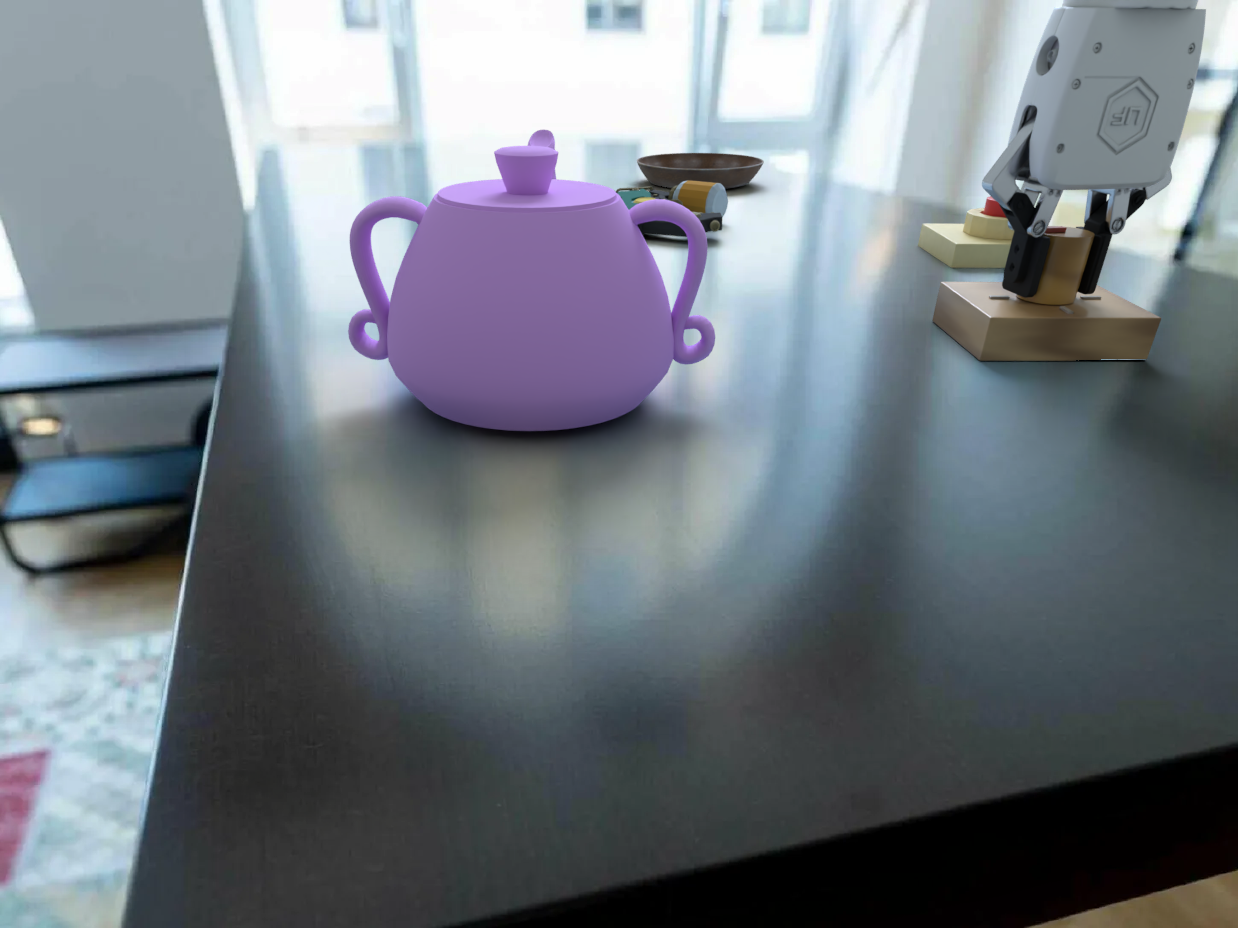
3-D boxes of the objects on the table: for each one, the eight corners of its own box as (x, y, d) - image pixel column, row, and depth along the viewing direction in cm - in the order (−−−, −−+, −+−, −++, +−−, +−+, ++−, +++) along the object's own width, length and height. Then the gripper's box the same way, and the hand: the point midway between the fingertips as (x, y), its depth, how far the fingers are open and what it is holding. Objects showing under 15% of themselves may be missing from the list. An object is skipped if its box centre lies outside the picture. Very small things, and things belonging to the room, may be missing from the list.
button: (1012, 214, 91) (1017, 195, 90) (1027, 221, 88) (1032, 202, 87) (976, 214, 90) (981, 195, 89) (990, 221, 87) (995, 201, 86)
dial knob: (1052, 289, 68) (1072, 220, 65) (1086, 303, 65) (1109, 231, 62) (1004, 292, 67) (1022, 222, 65) (1036, 306, 64) (1057, 233, 61)
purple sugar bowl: (691, 337, 67) (706, 124, 59) (725, 454, 49) (753, 172, 42) (395, 334, 67) (371, 120, 59) (323, 450, 49) (274, 167, 41)
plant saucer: (611, 184, 126) (611, 159, 124) (677, 170, 138) (678, 147, 136) (722, 198, 118) (724, 172, 116) (782, 182, 130) (785, 158, 128)
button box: (1029, 246, 95) (1040, 204, 93) (1073, 268, 87) (1087, 223, 85) (917, 245, 95) (925, 204, 93) (950, 268, 87) (961, 223, 84)
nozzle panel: (1080, 321, 72) (1092, 279, 70) (1146, 361, 64) (1163, 315, 62) (931, 321, 72) (940, 279, 70) (979, 361, 63) (991, 315, 62)
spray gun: (714, 254, 94) (577, 249, 97) (742, 215, 106) (620, 212, 110) (716, 210, 91) (574, 206, 95) (744, 175, 103) (619, 173, 107)
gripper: (1053, -25, 51) (972, 311, 61) (1299, -19, 54) (1182, 299, 64) (978, -21, 57) (916, 284, 67) (1203, -16, 60) (1111, 274, 70)
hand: (1047, 288), depth 66 cm, fingers closed on dial knob, 4 cm apart
